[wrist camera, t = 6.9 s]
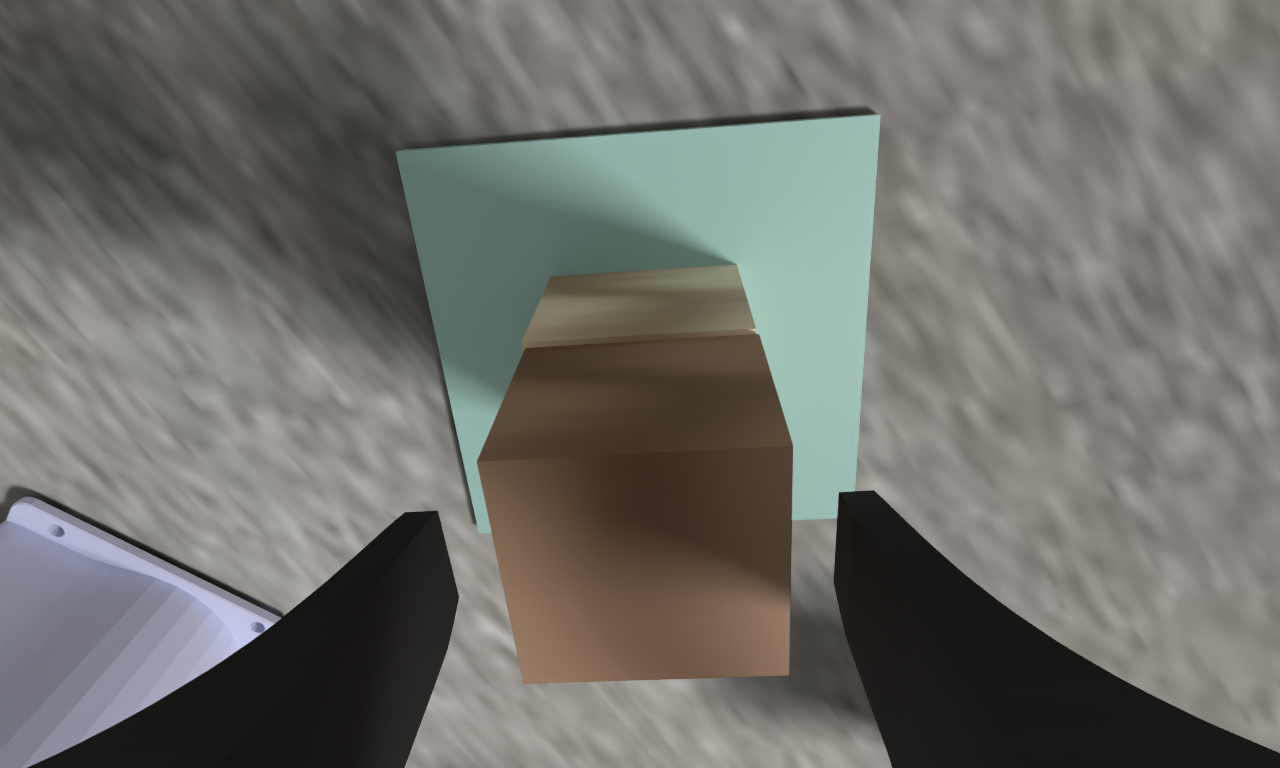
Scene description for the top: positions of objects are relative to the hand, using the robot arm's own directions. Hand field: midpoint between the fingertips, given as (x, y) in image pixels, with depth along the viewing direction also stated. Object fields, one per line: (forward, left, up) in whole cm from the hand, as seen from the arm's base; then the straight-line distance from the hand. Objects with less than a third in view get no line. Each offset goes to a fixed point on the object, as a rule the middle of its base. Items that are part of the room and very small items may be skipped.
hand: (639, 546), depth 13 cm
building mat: (0, 0, -9) cm, 9 cm away
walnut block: (0, 0, -4) cm, 4 cm away
